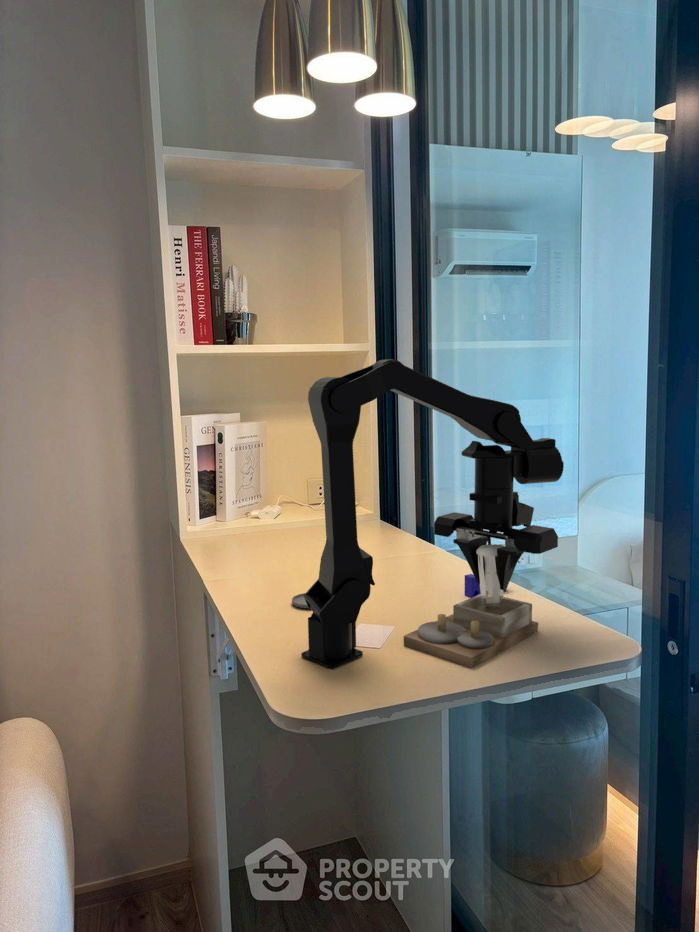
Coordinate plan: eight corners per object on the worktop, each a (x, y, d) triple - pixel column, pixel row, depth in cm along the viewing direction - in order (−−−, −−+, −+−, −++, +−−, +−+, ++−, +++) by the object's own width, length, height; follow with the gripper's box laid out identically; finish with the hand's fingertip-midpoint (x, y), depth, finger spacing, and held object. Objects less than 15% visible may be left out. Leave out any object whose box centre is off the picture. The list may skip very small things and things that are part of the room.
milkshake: (504, 596, 111) (503, 534, 110) (508, 607, 106) (508, 542, 105) (475, 596, 112) (474, 534, 111) (478, 607, 107) (477, 542, 105)
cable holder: (493, 587, 133) (494, 566, 132) (506, 592, 130) (506, 571, 129) (459, 594, 129) (459, 573, 128) (471, 599, 126) (471, 578, 125)
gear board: (471, 668, 97) (471, 636, 96) (403, 645, 105) (403, 616, 105) (537, 631, 110) (538, 603, 109) (473, 613, 118) (473, 587, 117)
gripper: (577, 486, 106) (574, 587, 108) (472, 474, 119) (471, 564, 121) (539, 496, 98) (536, 605, 100) (431, 482, 111) (431, 579, 113)
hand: (492, 586), depth 109 cm, fingers closed on milkshake, 4 cm apart
